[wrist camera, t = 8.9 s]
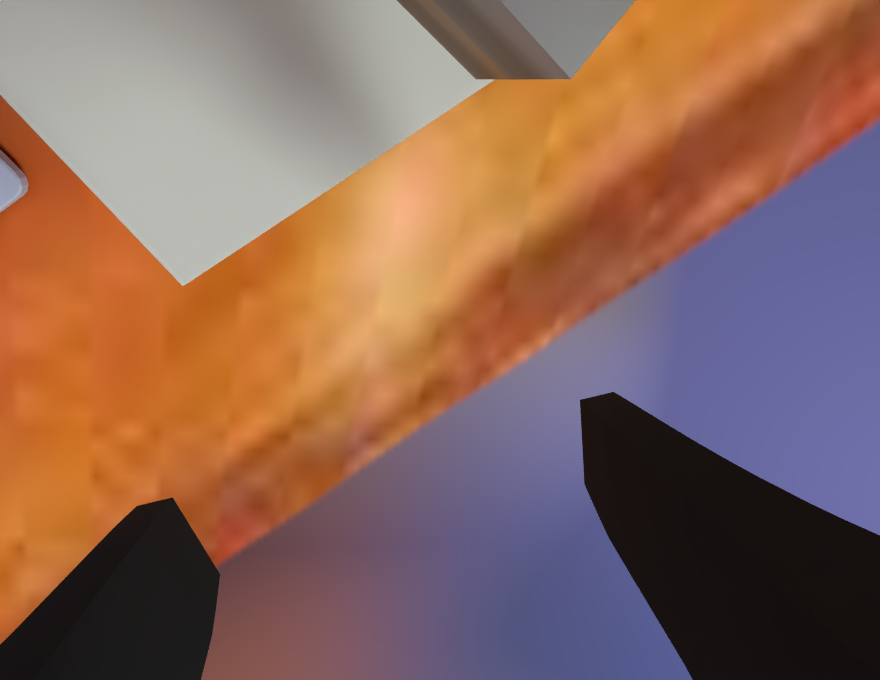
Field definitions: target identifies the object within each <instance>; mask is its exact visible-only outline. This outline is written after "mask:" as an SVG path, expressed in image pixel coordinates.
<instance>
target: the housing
mask: <svg viewBox="0 0 880 680" xmlns="http://www.w3.org/2000/svg"><path fill="white" fill-rule="evenodd" d="M397 1H398V2H399V3H400V4H401V5H402V6H403V7H404V8H405V9H406V10H407V11H408V12H409V13H410V14H411V15H412V16H413V17H414V18H415V19H416V20H417V21H418V22H419V23H420V24H421V25H422V26H423V27H424V28H425V29H426V30H427V31H428V32H429V33H430V34H431V35H432V36H433V37H434V38H435V39H436V40H437V41H438V42H439V43H440V44H441V45H442V46H443V47H444V48H445V49H446V50H447V51H448V52H449V53H450V54H451V55H452V56H453V57H454V58H455V59H456V60H457V61H458V62H459V63H460V64H461V65H462V66H463V67H464V68H465V69H466V70H467V71H468V72H469V73H470V74H471V75H472V76H473V77H474V78H475V79H571V78H572V77H573V76H574V75H575V73H576V72H577V71H578V70H579V69H580V67H581V66H582V65H583V64H584V62H585V61H586V60H587V59H588V58H589V56H590V55H591V54H592V53H593V51H594V50H595V49H596V48H597V47H598V45H599V44H600V43H601V42H602V40H603V39H604V38H605V37H606V36H607V34H608V33H609V32H610V31H611V29H612V28H613V27H614V26H615V25H616V23H617V22H618V21H619V20H620V18H621V17H622V16H623V15H624V14H625V12H626V11H627V10H628V9H629V7H630V6H631V5H632V4H633V3H634V1H635V0H397Z"/></svg>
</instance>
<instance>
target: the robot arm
mask: <svg viewBox="0 0 880 680" xmlns="http://www.w3.org/2000/svg"><path fill="white" fill-rule="evenodd" d="M27 191H28V181H27V178H26V176H25V175H24V173H23V172H22V171H21V170H20V169H19V168H18V167H17V166H16V165H15V164H14V163H13V162H12V161H11V160H10V159H9V158H8V157H7V156H6V155H5V154H4V153H3V152H2V151H1V150H0V212H2V211H3V210H5V209H6V208H7V207H9V206H10V205H11V204H13V203H14V202H15V201H17V200H18V199H20V198H21V197H22V196H24V194H25V193H26V192H27ZM580 407H581V426H582V444H583V460H584V461H583V463H584V482H585V486H586V488H587V491H588V493H589V495H590V497H591V500H592V502H593V504H594V506H595V508H596V511H597V513H598V516H599V518H600V520H601V522H602V524H603V526H604V528H605V530H606V533H607V535H608V537H609V539H610V540H611V542H612V544H613V545H614V547H615V549H616V550H617V552H618V554H619V556H620V557H621V559H622V561H623V562H624V564H625V566H626V567H627V569H628V571H629V572H630V574H631V576H632V578H633V579H634V581H635V583H636V584H637V586H638V588H639V589H640V591H641V593H642V594H643V596H644V598H645V599H646V601H647V603H648V604H649V606H650V608H651V609H652V611H653V613H654V614H655V616H656V618H657V619H658V621H659V623H660V624H661V626H662V628H663V629H664V631H665V633H666V634H667V636H668V638H669V639H670V641H671V643H672V644H673V646H674V647H675V649H676V651H677V653H678V654H679V656H680V658H681V659H682V661H683V663H684V664H685V666H686V668H687V670H688V672H689V674H690V675H691V677H692V679H693V680H880V535H877V534H875V533H873V532H871V531H868V530H866V529H864V528H862V527H859V526H857V525H855V524H853V523H850V522H848V521H845V520H844V519H841V518H839V517H837V516H835V515H833V514H831V513H829V512H827V511H825V510H823V509H820V508H818V507H816V506H814V505H812V504H810V503H808V502H806V501H804V500H802V499H800V498H798V497H796V496H794V495H792V494H790V493H788V492H786V491H785V490H783V489H781V488H779V487H777V486H775V485H773V484H771V483H769V482H767V481H765V480H763V479H761V478H759V477H758V476H756V475H754V474H752V473H750V472H748V471H746V470H745V469H743V468H741V467H739V466H737V465H735V464H734V463H732V462H730V461H728V460H727V459H725V458H723V457H721V456H719V455H717V454H716V453H714V452H713V451H711V450H709V449H707V448H706V447H704V446H702V445H700V444H698V443H697V442H695V441H694V440H692V439H690V438H689V437H687V436H685V435H683V434H682V433H680V432H678V431H677V430H675V429H673V428H672V427H670V426H669V425H667V424H665V423H664V422H662V421H660V420H659V419H657V418H655V417H654V416H652V415H650V414H649V413H647V412H646V411H644V410H642V409H641V408H639V407H637V406H636V405H634V404H633V403H631V402H629V401H628V400H626V399H624V398H622V397H621V396H619V395H618V394H616V393H614V392H612V393H607V394H604V395H599V396H595V397H591V398H587V399H582V400H580ZM219 578H220V574H219V572H218V570H217V569H216V567H215V565H214V564H213V562H212V561H211V559H210V557H209V556H208V554H207V553H206V551H205V549H204V548H203V546H202V544H201V543H200V541H199V540H198V538H197V536H196V535H195V533H194V531H193V530H192V528H191V527H190V525H189V523H188V522H187V520H186V518H185V517H184V515H183V514H182V512H181V510H180V509H179V507H178V506H177V504H176V502H175V501H174V499H173V498H169V499H165V500H160V501H156V502H152V503H148V504H144V505H140V506H137V507H136V508H134V509H133V510H132V511H131V512H130V513H129V514H128V515H127V516H126V517H125V518H124V519H123V520H122V521H121V522H120V523H118V524H117V525H116V526H115V527H114V528H113V529H112V530H111V531H110V532H109V533H108V534H107V536H106V537H105V538H104V539H103V540H102V541H101V542H100V543H99V544H98V545H97V546H96V547H95V548H94V549H93V550H92V551H91V552H90V553H89V554H88V555H87V556H86V557H85V558H84V559H83V560H82V561H81V562H80V563H79V564H78V565H77V567H76V568H75V569H74V570H73V571H72V572H71V573H70V574H69V575H68V576H67V577H66V578H65V579H64V580H63V581H62V582H61V583H60V584H59V585H58V586H57V587H56V588H55V589H54V590H53V591H52V592H51V593H50V595H49V596H48V597H47V598H46V599H45V600H44V601H43V602H42V603H41V604H40V605H39V606H38V607H37V608H36V609H35V610H34V611H33V612H32V613H31V614H30V615H29V616H28V617H27V618H26V619H25V620H24V621H23V622H22V623H21V624H20V626H19V627H18V628H17V629H16V630H15V631H14V632H13V633H12V634H11V635H10V636H9V637H8V638H7V639H6V640H5V641H4V642H3V643H2V644H1V645H0V680H201V676H202V672H203V669H204V665H205V661H206V657H207V653H208V649H209V645H210V641H211V637H212V631H213V624H214V618H215V611H216V602H217V595H218V586H219Z"/></svg>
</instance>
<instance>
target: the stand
mask: <svg viewBox="0 0 880 680" xmlns="http://www.w3.org/2000/svg"><path fill="white" fill-rule="evenodd" d="M493 80H495V79H475V78H474V77H473V76H472V75H471V74H470V73H469V72H468V71H467V70H466V69H465V68H464V67H463V66H462V65H461V64H460V63H459V62H458V61H457V60H456V59H455V58H454V57H453V56H452V55H451V54H450V53H449V52H448V51H447V50H446V49H445V48H444V47H443V46H442V45H441V44H440V43H439V42H438V41H437V40H436V39H435V38H434V37H433V36H432V35H431V34H430V33H429V32H428V31H427V30H426V29H425V28H424V27H423V26H422V25H421V24H420V23H419V22H418V21H417V20H416V19H415V18H414V17H413V16H412V15H411V14H410V13H409V12H408V11H407V10H406V9H405V8H404V7H403V6H402V5H401V4H400V3H399V2H398V1H397V0H0V95H1V96H2V97H3V98H4V99H5V100H6V101H7V103H8V104H9V105H10V106H11V107H12V108H13V109H14V110H15V111H16V112H17V113H18V114H19V115H20V116H21V117H22V118H23V119H24V120H25V121H26V122H27V123H28V125H29V126H30V127H31V128H32V129H33V130H34V131H35V132H36V133H37V134H38V135H39V136H40V137H41V138H42V139H43V140H44V141H45V142H46V143H47V144H48V145H49V147H50V148H51V149H52V150H53V151H54V152H55V153H56V154H57V155H58V156H59V157H60V158H61V159H62V160H63V161H64V162H65V163H66V164H67V165H68V166H69V167H70V169H71V170H72V171H73V172H74V173H75V174H76V175H77V176H78V177H79V178H80V179H81V180H82V181H83V182H84V183H85V184H86V185H87V186H88V187H89V188H90V189H91V191H92V192H93V193H94V194H95V195H96V196H97V197H98V198H99V199H100V200H101V201H102V202H103V203H104V204H105V205H106V206H107V207H108V208H109V209H110V210H111V211H112V213H113V214H114V215H115V216H116V217H117V218H118V219H119V220H120V221H121V222H122V223H123V224H124V225H125V226H126V227H127V228H128V229H129V230H130V231H131V232H132V233H133V235H134V236H135V237H136V238H137V239H138V240H139V241H140V242H141V243H142V244H143V245H144V246H145V247H146V248H147V249H148V250H149V251H150V252H151V253H152V254H153V255H154V257H155V258H156V259H157V260H158V261H159V262H160V263H161V264H162V265H163V266H164V267H165V268H166V269H167V270H168V271H169V272H170V273H171V274H172V275H173V276H174V277H175V279H176V280H177V281H178V282H179V283H180V284H181V285H182V286H184V285H186V284H187V283H189V282H190V281H192V280H193V279H195V278H196V277H198V276H199V275H201V274H202V273H204V272H205V271H207V270H208V269H210V268H211V267H213V266H214V265H216V264H217V263H219V262H220V261H222V260H223V259H225V258H226V257H228V256H229V255H231V254H232V253H234V252H235V251H237V250H238V249H240V248H241V247H243V246H244V245H246V244H247V243H249V242H250V241H252V240H254V239H255V238H257V237H258V236H260V235H261V234H263V233H264V232H266V231H267V230H269V229H270V228H272V227H273V226H275V225H276V224H278V223H279V222H281V221H282V220H284V219H285V218H287V217H288V216H290V215H291V214H293V213H294V212H296V211H297V210H299V209H300V208H302V207H303V206H305V205H306V204H308V203H309V202H311V201H312V200H314V199H315V198H317V197H318V196H320V195H321V194H323V193H324V192H326V191H327V190H329V189H330V188H332V187H333V186H335V185H336V184H338V183H339V182H341V181H343V180H344V179H346V178H347V177H349V176H350V175H352V174H353V173H355V172H356V171H358V170H359V169H361V168H362V167H364V166H365V165H367V164H368V163H370V162H371V161H373V160H374V159H376V158H377V157H379V156H380V155H382V154H383V153H385V152H386V151H388V150H389V149H391V148H392V147H394V146H395V145H397V144H398V143H400V142H401V141H403V140H404V139H406V138H407V137H409V136H410V135H412V134H413V133H415V132H416V131H418V130H419V129H421V128H422V127H424V126H425V125H427V124H428V123H430V122H431V121H433V120H435V119H436V118H438V117H439V116H441V115H442V114H444V113H445V112H447V111H448V110H450V109H451V108H453V107H454V106H456V105H457V104H459V103H460V102H462V101H463V100H465V99H466V98H468V97H469V96H471V95H472V94H474V93H475V92H477V91H478V90H480V89H481V88H483V87H484V86H486V85H487V84H489V83H490V82H492V81H493Z"/></svg>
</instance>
